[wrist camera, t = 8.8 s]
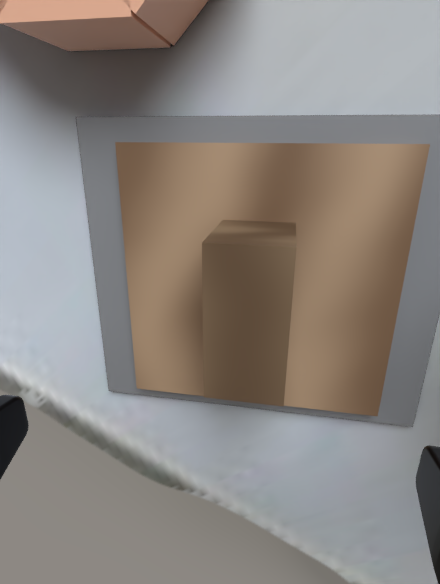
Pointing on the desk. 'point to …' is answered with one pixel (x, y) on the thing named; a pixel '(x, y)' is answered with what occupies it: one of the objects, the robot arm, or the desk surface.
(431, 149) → the mat
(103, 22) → the bowl
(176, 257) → the cover
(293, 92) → the desk surface
